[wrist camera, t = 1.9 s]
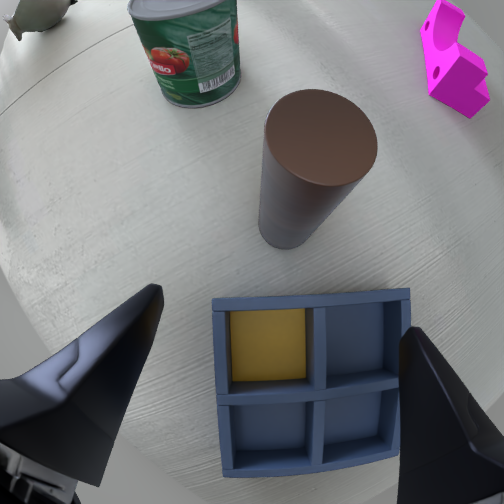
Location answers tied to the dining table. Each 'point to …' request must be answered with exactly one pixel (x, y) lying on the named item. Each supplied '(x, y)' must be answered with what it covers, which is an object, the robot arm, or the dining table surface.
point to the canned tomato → (190, 47)
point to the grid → (308, 380)
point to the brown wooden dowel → (310, 162)
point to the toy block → (452, 62)
